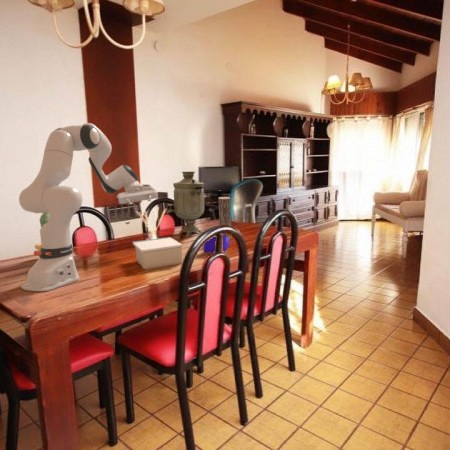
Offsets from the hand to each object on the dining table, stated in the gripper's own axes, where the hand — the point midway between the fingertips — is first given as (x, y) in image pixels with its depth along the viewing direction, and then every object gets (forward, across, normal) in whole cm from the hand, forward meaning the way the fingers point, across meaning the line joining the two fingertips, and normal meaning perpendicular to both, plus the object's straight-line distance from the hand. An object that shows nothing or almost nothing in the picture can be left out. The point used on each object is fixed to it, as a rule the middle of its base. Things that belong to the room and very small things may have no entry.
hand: (140, 201), depth 186 cm
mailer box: (+28, +1, +21) cm, 35 cm away
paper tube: (-1, +48, +34) cm, 58 cm away
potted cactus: (-6, -47, +26) cm, 54 cm away
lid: (+23, +2, +14) cm, 27 cm away
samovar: (-29, +31, +40) cm, 59 cm away
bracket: (+18, +36, +27) cm, 49 cm away
